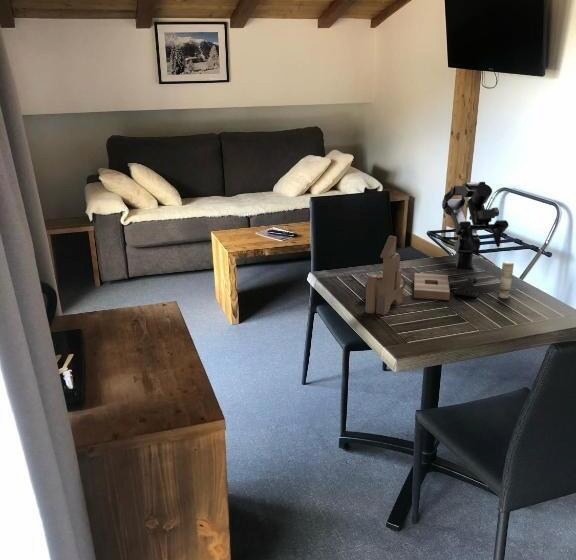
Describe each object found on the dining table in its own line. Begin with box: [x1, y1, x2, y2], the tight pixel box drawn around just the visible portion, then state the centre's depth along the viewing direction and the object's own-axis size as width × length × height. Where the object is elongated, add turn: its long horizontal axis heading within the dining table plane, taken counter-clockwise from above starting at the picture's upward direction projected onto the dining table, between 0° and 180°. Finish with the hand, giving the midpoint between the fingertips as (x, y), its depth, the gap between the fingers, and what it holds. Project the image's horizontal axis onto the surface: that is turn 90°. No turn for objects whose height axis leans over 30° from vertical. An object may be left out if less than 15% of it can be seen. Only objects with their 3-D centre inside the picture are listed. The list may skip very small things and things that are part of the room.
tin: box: [364, 273, 406, 300], centre depth 201 cm, size 15×3×8 cm, turn 111°
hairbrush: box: [453, 276, 479, 298], centre depth 209 cm, size 8×4×25 cm
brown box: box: [413, 272, 451, 301], centre depth 208 cm, size 18×12×3 cm, turn 168°
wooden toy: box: [365, 235, 404, 316], centre depth 189 cm, size 16×7×25 cm, turn 144°
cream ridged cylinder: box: [498, 261, 515, 299], centre depth 200 cm, size 4×4×12 cm
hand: (486, 247), depth 212 cm, fingers open, 9 cm apart
